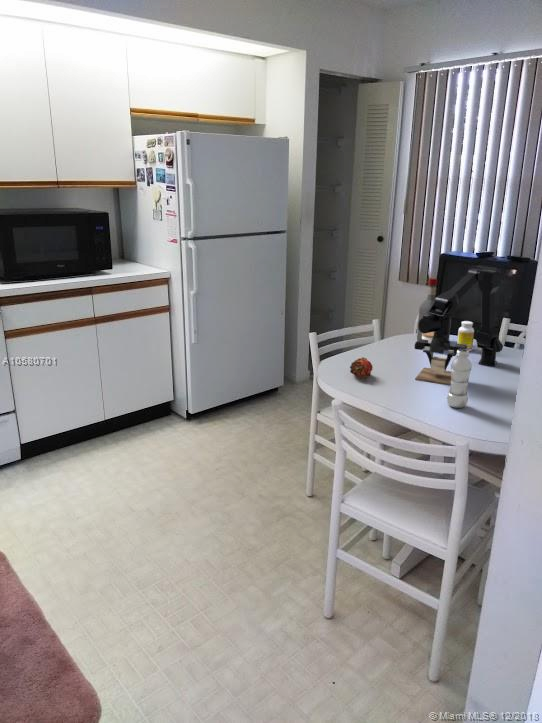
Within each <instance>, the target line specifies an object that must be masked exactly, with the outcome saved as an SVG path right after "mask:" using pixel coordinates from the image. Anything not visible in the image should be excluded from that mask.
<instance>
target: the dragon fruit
mask: <svg viewBox="0 0 542 723" xmlns="http://www.w3.org/2000/svg"><path fill="white" fill-rule="evenodd" d="M373 367H374V366H373V364H372V362H371V361H370V360H368V359H367V358H366V357H363V356H362V357H361V358H357V359H355V360H354V362H353V361H352V362H351V364H350V366H349V369H350V371H349V373H350V374H352V375H354V376H355V377H356V378H358V379H360V378H363V379H364V378H370V377H371V374H372V373H371V372H372V371H373Z"/></svg>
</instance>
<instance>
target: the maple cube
mask: <svg viewBox="0 0 542 723" xmlns="http://www.w3.org/2000/svg"><path fill="white" fill-rule="evenodd" d="M446 360H447V357H443V356H438V355H437V356H436V355H433V358H432V360H431V366H430V368H431V370H430V372H434V373H441V374H444V372H445V371H447V368H446V369H445V364H446Z"/></svg>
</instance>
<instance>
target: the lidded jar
mask: <svg viewBox="0 0 542 723" xmlns="http://www.w3.org/2000/svg"><path fill="white" fill-rule="evenodd" d="M433 336H434V332H430V333H425V334H424V333H422V339H424V340H428V343H431V341H432V339H433Z"/></svg>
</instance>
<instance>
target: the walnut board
mask: <svg viewBox="0 0 542 723" xmlns="http://www.w3.org/2000/svg"><path fill="white" fill-rule="evenodd" d="M430 370H431V367H430V368H429V367H423V368H422V370H421V371H420V372H419V373H418V375H417V376H416V377H415V381H421V382H428V383H434V384H440V385H444V386H445V385H446V386H450V385H451V370H450V371H449V370H446V371H445V372H444V374H441V373H434V372H430Z"/></svg>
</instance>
